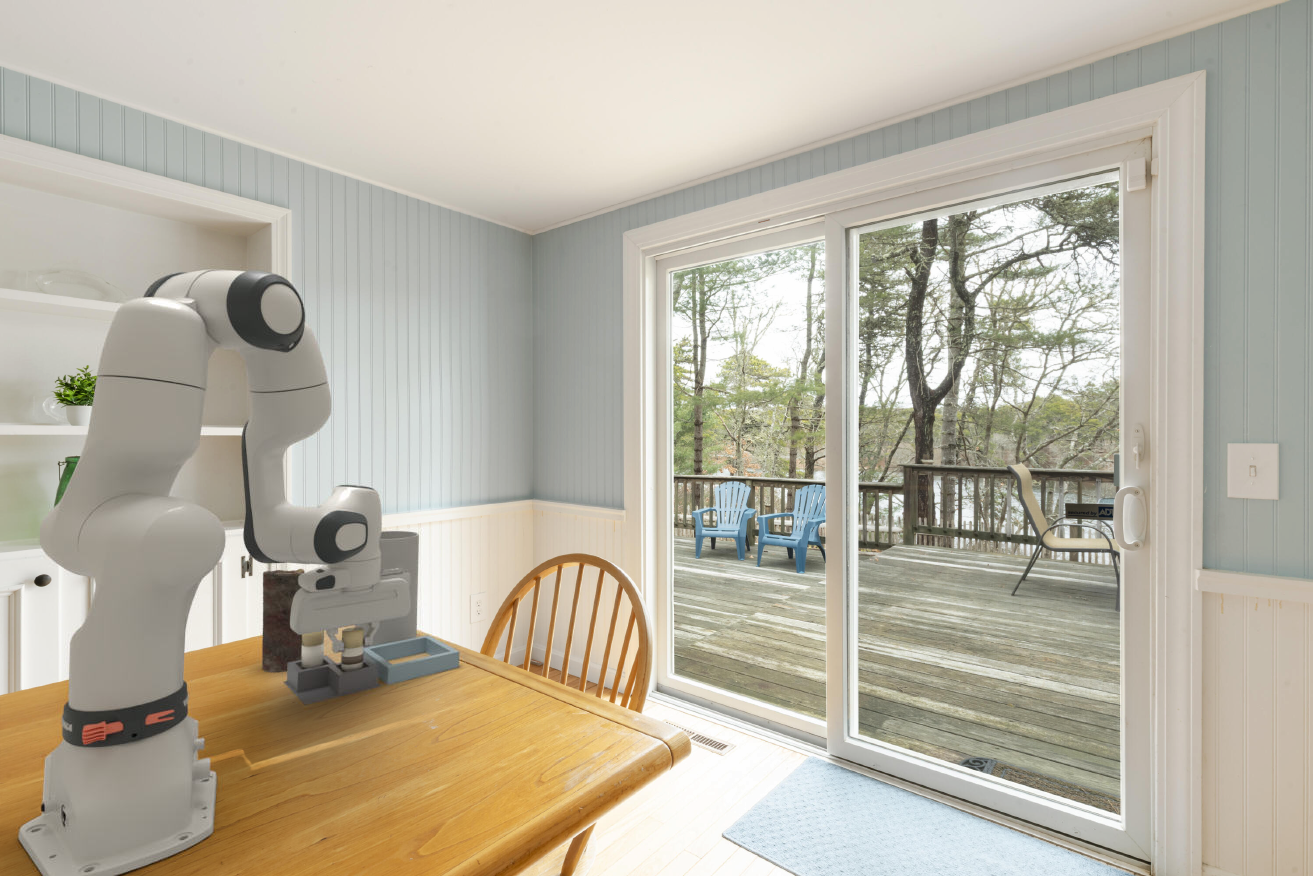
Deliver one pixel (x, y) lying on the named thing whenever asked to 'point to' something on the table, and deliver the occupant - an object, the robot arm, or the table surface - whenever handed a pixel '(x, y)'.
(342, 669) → the fuse
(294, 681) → the fuse holder
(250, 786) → the table surface
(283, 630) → the candle
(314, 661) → the cylinder
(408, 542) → the cylinder vase
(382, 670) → the parts tray
